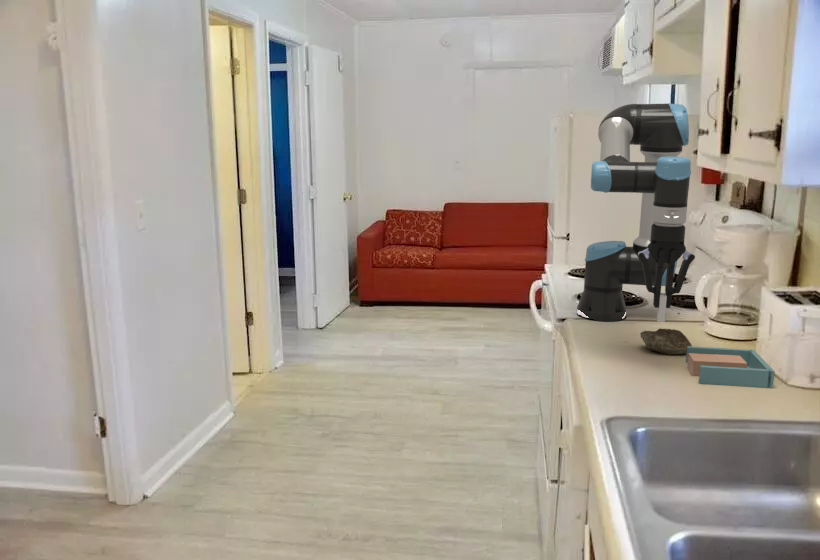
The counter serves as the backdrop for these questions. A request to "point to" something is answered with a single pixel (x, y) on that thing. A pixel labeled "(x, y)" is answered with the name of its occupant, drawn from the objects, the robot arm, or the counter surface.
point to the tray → (735, 369)
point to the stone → (666, 341)
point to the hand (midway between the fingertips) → (660, 320)
